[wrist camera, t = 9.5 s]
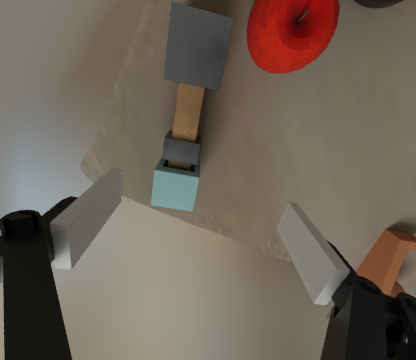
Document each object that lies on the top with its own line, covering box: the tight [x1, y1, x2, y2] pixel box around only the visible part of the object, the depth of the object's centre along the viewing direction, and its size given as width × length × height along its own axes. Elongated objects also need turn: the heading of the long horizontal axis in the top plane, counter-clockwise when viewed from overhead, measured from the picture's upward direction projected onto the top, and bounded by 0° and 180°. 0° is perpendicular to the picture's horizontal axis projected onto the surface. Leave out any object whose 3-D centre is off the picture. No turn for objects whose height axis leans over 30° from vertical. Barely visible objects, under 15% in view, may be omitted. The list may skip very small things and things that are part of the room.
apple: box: [247, 0, 340, 73], centre depth 25 cm, size 10×10×12 cm
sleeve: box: [164, 2, 234, 91], centre depth 27 cm, size 7×6×10 cm
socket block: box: [151, 154, 200, 212], centre depth 33 cm, size 6×6×11 cm
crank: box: [356, 229, 416, 298], centre depth 47 cm, size 20×8×8 cm, turn 168°
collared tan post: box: [162, 82, 205, 171], centre depth 29 cm, size 16×5×5 cm, turn 168°
